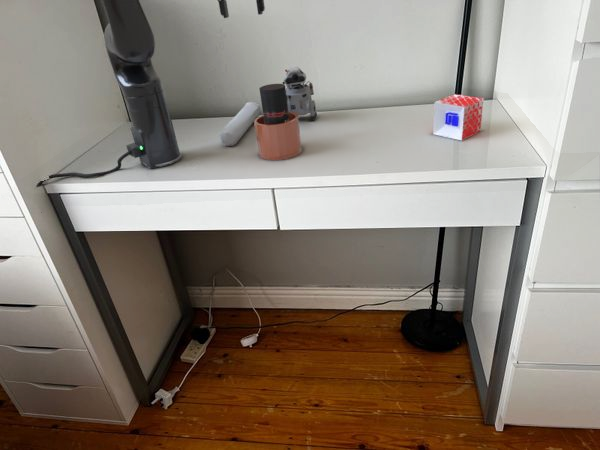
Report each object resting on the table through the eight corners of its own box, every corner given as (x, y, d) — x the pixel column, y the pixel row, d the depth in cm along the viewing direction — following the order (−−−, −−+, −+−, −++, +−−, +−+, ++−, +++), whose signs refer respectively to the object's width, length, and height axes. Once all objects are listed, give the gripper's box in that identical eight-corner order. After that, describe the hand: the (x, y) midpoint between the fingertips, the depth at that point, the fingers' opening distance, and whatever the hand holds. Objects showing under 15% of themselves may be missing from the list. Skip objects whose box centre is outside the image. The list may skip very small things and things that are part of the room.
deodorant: (289, 152, 107) (281, 89, 99) (265, 153, 108) (256, 90, 101) (294, 144, 112) (287, 83, 104) (272, 144, 113) (263, 84, 106)
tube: (238, 133, 114) (262, 104, 135) (218, 127, 114) (245, 99, 135) (235, 151, 117) (259, 120, 138) (215, 146, 117) (242, 116, 138)
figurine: (279, 128, 126) (272, 74, 119) (289, 116, 136) (283, 65, 128) (311, 127, 124) (305, 72, 116) (318, 115, 134) (314, 62, 126)
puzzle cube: (480, 130, 108) (483, 98, 104) (461, 140, 104) (464, 106, 100) (451, 125, 114) (453, 94, 110) (432, 134, 110) (434, 102, 106)
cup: (277, 163, 104) (273, 128, 100) (251, 154, 111) (245, 121, 107) (310, 149, 109) (307, 115, 105) (282, 141, 117) (278, 109, 112)
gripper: (195, -61, 97) (210, 20, 105) (258, -69, 95) (269, 14, 103) (206, -60, 104) (219, 17, 112) (265, -68, 101) (275, 11, 109)
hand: (243, 15), depth 107 cm, fingers open, 8 cm apart
